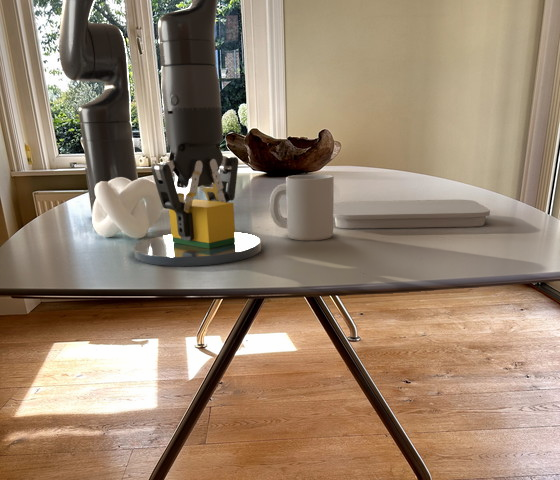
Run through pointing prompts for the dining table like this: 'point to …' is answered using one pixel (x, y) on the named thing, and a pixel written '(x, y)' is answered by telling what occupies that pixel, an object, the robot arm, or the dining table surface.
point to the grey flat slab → (409, 214)
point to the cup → (305, 206)
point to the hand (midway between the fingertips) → (202, 235)
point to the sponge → (208, 224)
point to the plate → (195, 251)
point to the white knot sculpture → (126, 207)
